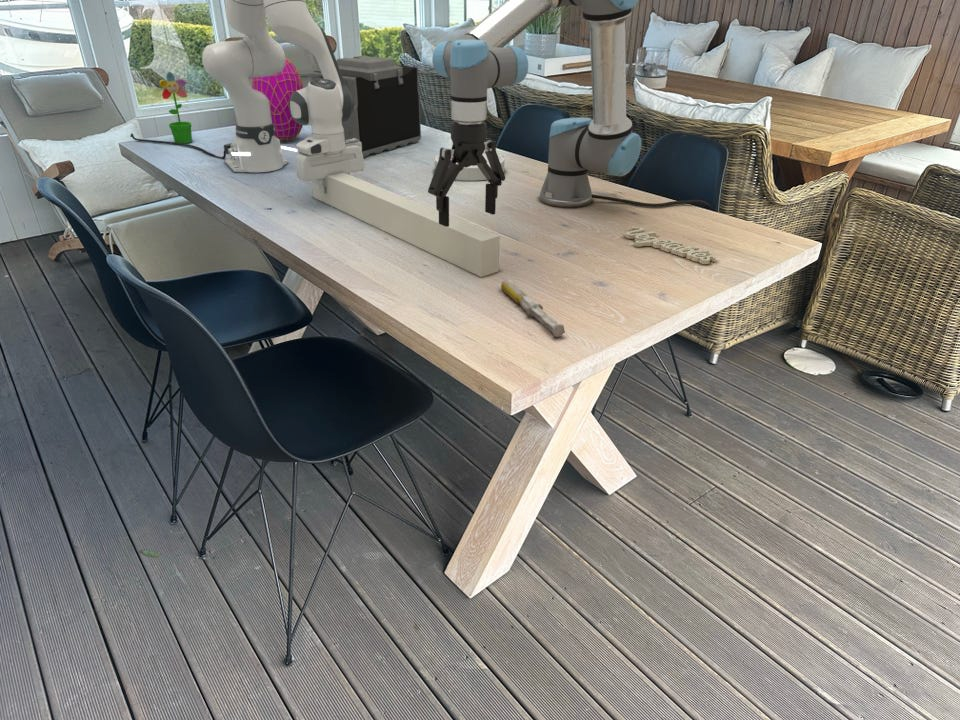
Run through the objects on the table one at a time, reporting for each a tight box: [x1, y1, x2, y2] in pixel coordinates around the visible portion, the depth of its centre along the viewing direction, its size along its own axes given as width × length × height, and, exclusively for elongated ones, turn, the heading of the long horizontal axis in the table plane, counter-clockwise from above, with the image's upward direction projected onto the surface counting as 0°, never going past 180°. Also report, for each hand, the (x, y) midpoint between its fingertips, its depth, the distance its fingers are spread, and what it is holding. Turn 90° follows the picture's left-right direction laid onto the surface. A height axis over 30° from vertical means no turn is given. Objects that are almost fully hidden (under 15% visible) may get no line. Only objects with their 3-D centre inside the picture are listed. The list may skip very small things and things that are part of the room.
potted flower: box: [158, 71, 193, 144], centre depth 254 cm, size 9×8×25 cm
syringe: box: [500, 279, 566, 338], centre depth 139 cm, size 25×4×3 cm, turn 21°
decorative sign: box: [624, 226, 717, 265], centre depth 170 cm, size 26×1×10 cm
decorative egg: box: [251, 57, 305, 142], centre depth 257 cm, size 19×19×30 cm
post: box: [311, 172, 501, 278], centre depth 178 cm, size 76×5×8 cm, turn 41°
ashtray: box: [434, 150, 505, 182], centre depth 228 cm, size 23×23×4 cm
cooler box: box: [310, 55, 422, 158], centre depth 250 cm, size 37×22×30 cm, turn 144°
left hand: (333, 191), depth 198 cm, fingers closed on post, 5 cm apart
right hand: (467, 219), depth 155 cm, fingers open, 13 cm apart
